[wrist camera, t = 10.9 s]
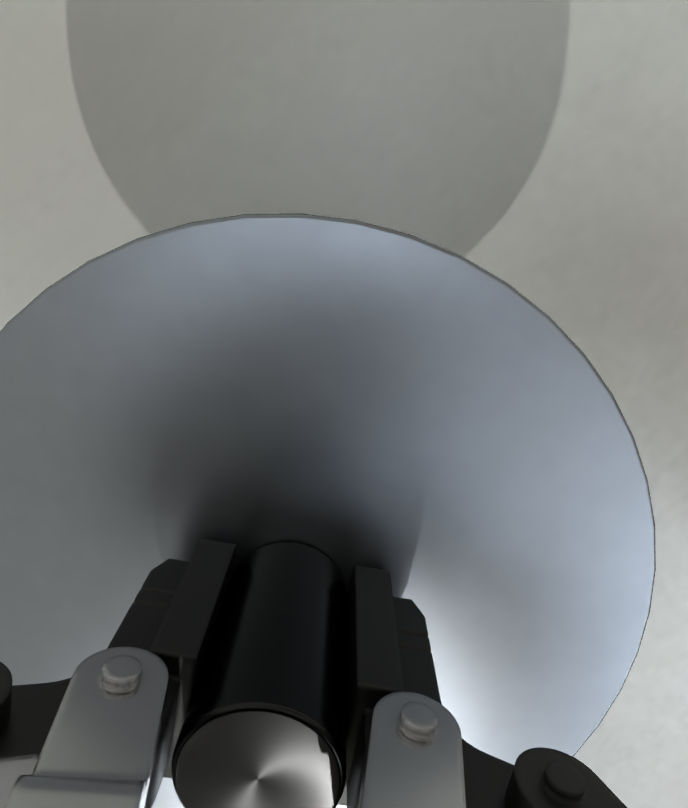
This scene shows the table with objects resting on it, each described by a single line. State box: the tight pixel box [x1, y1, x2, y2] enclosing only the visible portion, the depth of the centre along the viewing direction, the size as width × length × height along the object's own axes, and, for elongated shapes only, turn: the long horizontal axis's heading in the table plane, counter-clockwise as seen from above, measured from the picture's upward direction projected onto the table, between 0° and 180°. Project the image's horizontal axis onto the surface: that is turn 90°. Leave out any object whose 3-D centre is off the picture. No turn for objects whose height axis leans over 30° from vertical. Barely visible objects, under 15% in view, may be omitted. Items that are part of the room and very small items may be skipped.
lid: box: [0, 214, 656, 808], centre depth 11 cm, size 15×15×6 cm
